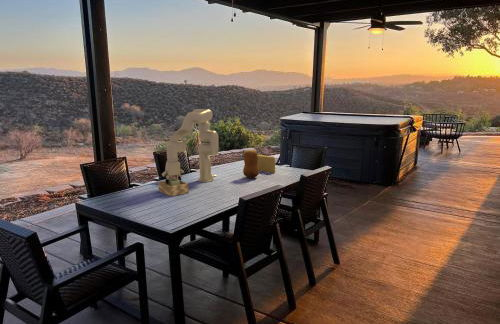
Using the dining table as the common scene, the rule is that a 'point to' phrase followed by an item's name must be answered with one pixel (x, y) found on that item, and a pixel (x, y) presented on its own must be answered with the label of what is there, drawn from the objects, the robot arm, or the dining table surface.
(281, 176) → the dining table surface
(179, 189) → the wicker basket
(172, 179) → the small crate
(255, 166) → the butternut squash
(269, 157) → the cheese
